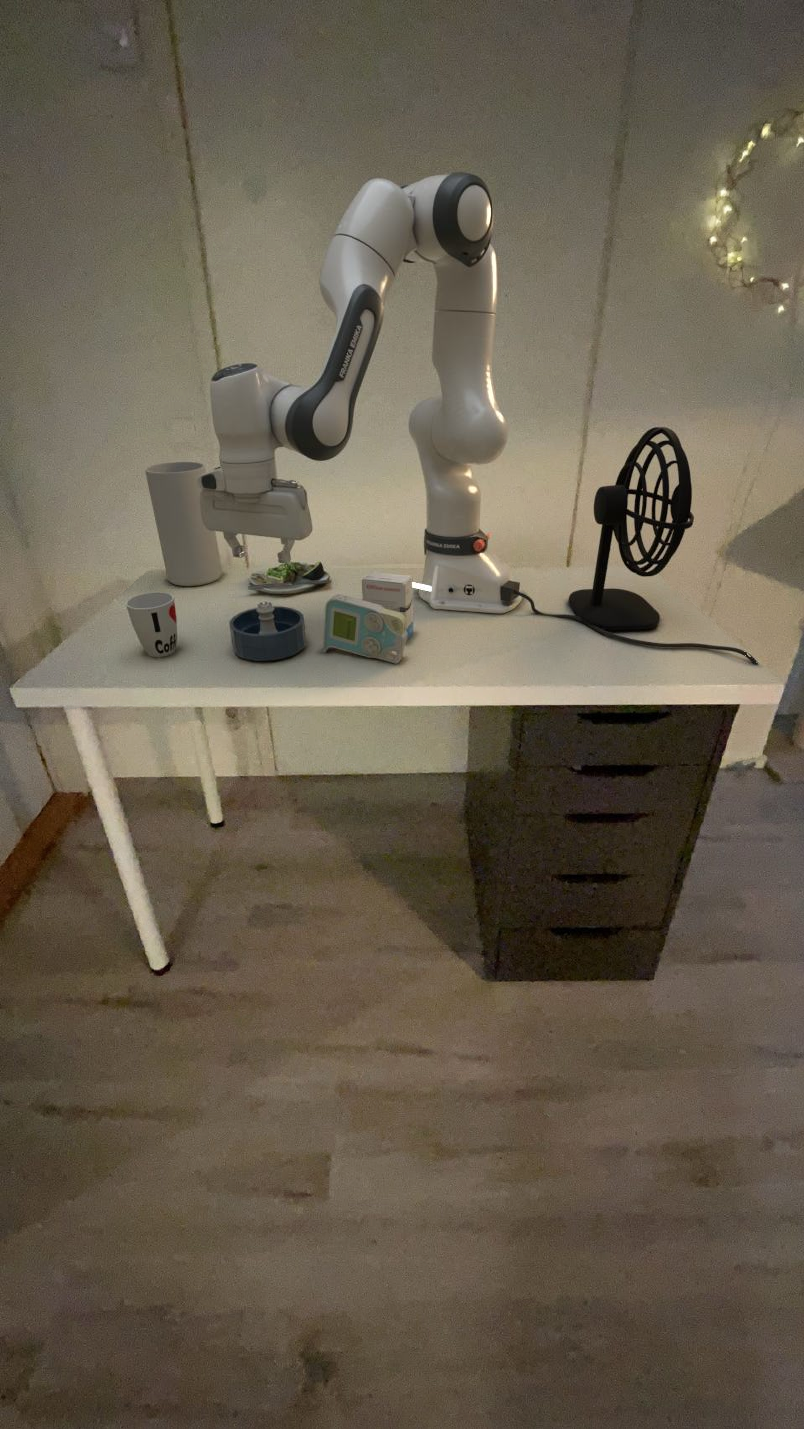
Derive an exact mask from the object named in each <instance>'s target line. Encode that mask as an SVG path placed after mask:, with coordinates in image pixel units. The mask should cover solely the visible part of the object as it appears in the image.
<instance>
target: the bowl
mask: <svg viewBox="0 0 804 1429" xmlns="http://www.w3.org/2000/svg"><path fill="white" fill-rule="evenodd" d="M272 606H273V607H274V608H275V609H274V611H273V612H272V614H273V615H274V618H273V620H274V624H275V628H276V630H277V631H278V632H276V633H270V634H259V632H260V619H259V618H258V617H259V613H258V612H257V611H256V609H257V608H258V607H254V608H249V609H247V610H243V611H241V612H239V613H237V614H236V615H234V616H233V617H232V618H231V619H230V620H229V622H228V624H229V626H228V627H229V632H230V638H231V639H230V640H231V645H232V651H233V652H234V653H235V655H236V656H238V657H240V658H243V659H246V660H250V661H258V662H259V661H265V662H268V661H269V662H270V661H276V660H282V659H285V658H289V657H291V656H294V655H296V654H298V653H300V652H301V651H303V649H304V648H305V647H306V645H307V633H306V622H305V616H304V614H303V613H302V612H301V611H300V610H298V609H296V608H293V607H289V606H283V605H282V606H281V605H272Z"/></svg>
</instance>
